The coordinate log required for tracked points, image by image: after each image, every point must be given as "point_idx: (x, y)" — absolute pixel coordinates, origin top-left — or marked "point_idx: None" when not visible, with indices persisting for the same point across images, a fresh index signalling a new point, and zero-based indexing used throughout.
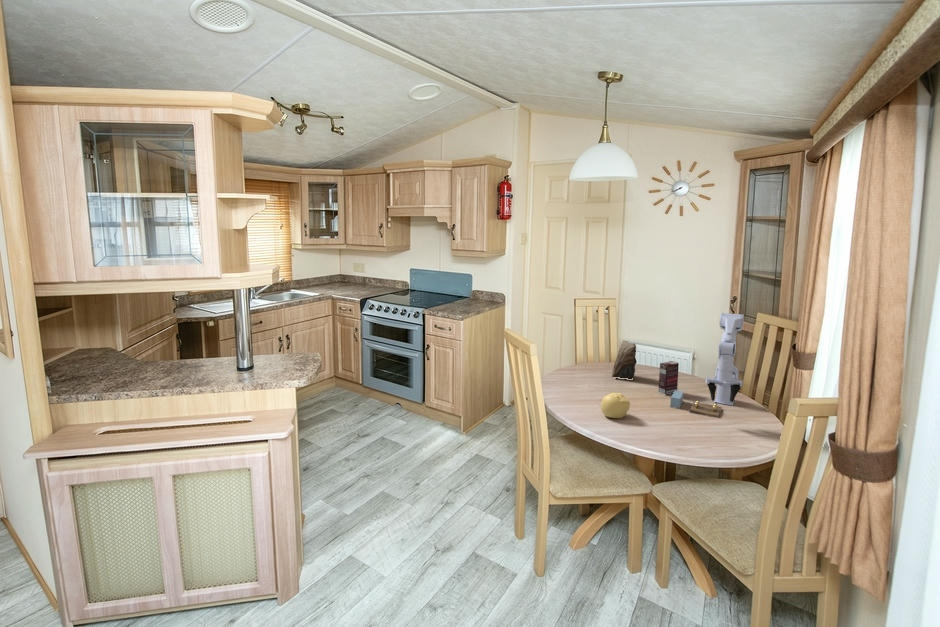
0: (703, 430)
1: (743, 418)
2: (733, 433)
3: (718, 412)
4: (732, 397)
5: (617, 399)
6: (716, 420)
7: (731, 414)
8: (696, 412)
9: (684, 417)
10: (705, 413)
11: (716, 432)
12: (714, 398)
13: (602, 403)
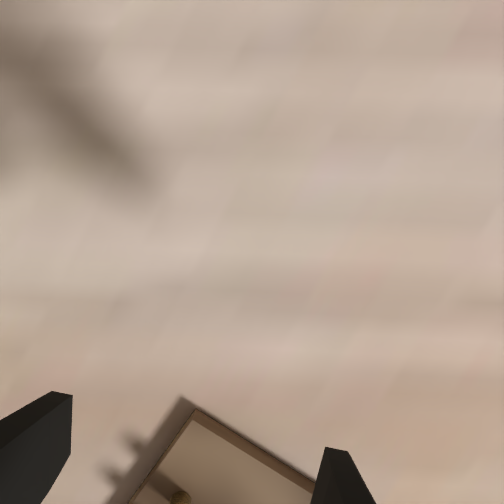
0: (447, 177)
1: (12, 384)
2: (229, 107)
3: (161, 475)
4: (14, 447)
5: None
6: (235, 361)
7: None
8: None
9: (455, 429)
10: (271, 467)
11: (360, 133)
12: (339, 473)
13: None
